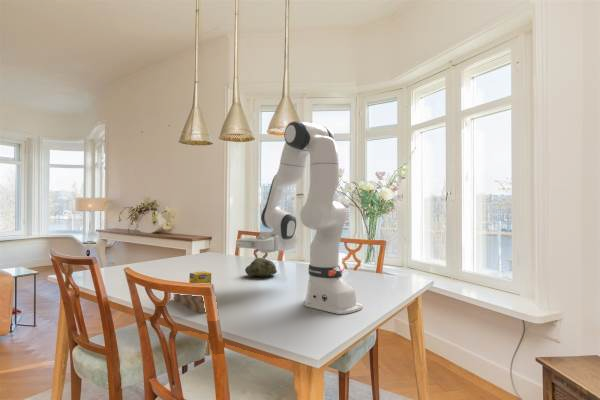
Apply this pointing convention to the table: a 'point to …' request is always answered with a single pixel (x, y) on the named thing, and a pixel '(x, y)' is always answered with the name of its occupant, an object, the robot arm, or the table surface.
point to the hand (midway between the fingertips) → (238, 245)
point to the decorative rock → (261, 268)
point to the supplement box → (200, 277)
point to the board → (191, 302)
